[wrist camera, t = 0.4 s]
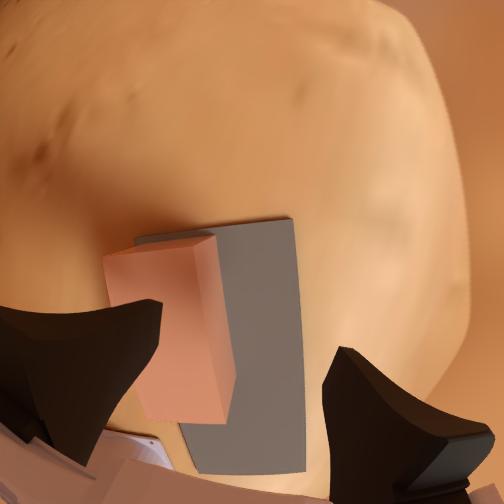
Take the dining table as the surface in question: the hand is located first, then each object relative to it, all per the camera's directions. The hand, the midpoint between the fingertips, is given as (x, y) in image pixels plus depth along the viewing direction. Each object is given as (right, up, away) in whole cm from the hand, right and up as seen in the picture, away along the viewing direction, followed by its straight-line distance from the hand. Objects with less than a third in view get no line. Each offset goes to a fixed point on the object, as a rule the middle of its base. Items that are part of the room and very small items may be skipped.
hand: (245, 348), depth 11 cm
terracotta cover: (-4, -1, +10) cm, 11 cm away
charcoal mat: (-1, -7, +11) cm, 13 cm away
